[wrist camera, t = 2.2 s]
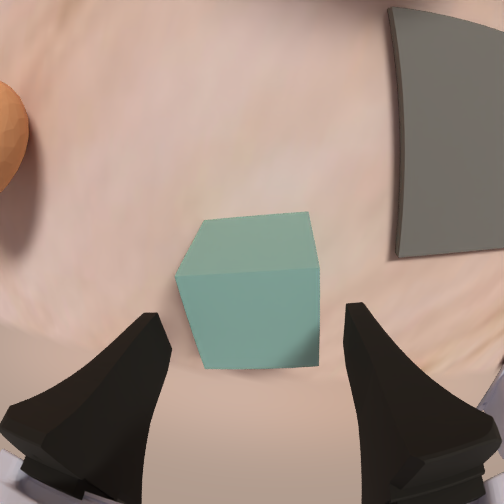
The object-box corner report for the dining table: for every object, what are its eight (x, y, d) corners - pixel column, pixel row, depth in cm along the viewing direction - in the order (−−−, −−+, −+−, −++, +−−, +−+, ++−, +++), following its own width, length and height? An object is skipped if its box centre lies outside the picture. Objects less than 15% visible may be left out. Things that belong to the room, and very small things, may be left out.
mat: (544, 238, 13) (549, 243, 13) (395, 251, 15) (398, 257, 14) (557, 57, 8) (563, 57, 7) (387, 9, 9) (391, 6, 9)
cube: (311, 296, 17) (318, 365, 13) (222, 301, 18) (204, 368, 13) (308, 211, 15) (319, 267, 10) (204, 219, 15) (174, 276, 11)
